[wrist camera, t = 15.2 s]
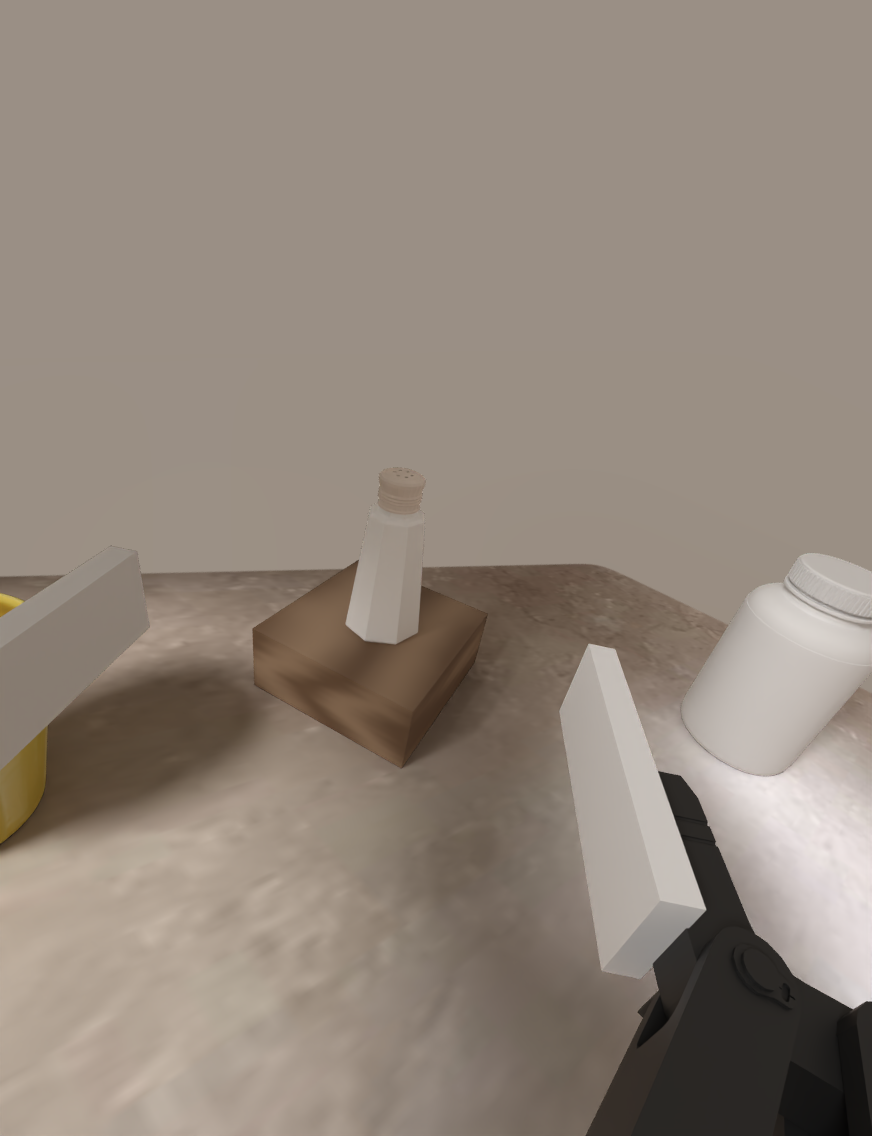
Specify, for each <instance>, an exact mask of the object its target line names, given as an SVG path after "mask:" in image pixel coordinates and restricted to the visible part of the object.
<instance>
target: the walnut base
mask: <svg viewBox="0 0 872 1136" xmlns="http://www.w3.org/2000/svg"><path fill="white" fill-rule="evenodd" d="M358 562H359V560H358V561H356V562H355V563H353V564H351V565H350V566H348V567H347V568H345V569H344V570H342V571H341V572H339V573H338V574H336V575H334V576H333V577H331V578H330V579H328V580H327V581H325V582H324V583H322V584H321V585H319V586H317V587H316V588H314V589H313V590H311V591H310V592H308V593H307V594H305V595H304V596H302V597H300V598H299V599H297V600H296V601H294V602H293V603H291V604H290V605H288V606H287V607H285V608H283V609H282V610H280V611H279V612H277V613H276V614H274V615H273V616H271V617H270V618H268V619H266V620H265V621H263V622H262V623H260V624H259V625H257V626H256V627H254V628H253V656H254V685H256V686H258V687H259V688H261V689H263V690H265V691H266V692H268V693H270V694H272V695H273V696H275V697H277V698H279V699H280V700H282V701H284V702H286V703H287V704H289V705H291V706H293V707H294V708H296V709H298V710H300V711H301V712H303V713H305V714H307V715H309V716H310V717H312V718H314V719H316V720H317V721H319V722H321V723H323V724H324V725H326V726H328V727H330V728H331V729H333V730H335V731H337V732H338V733H340V734H342V735H344V736H345V737H347V738H349V739H351V740H352V741H354V742H356V743H358V744H359V745H361V746H363V747H365V748H367V749H368V750H370V751H372V752H374V753H375V754H377V755H379V756H381V757H382V758H384V759H386V760H388V761H389V762H391V763H393V764H395V765H396V766H398V767H400V768H402V767H403V765H404V764H405V763H406V761H407V760H408V758H409V757H410V755H411V754H412V752H413V751H414V749H415V748H416V747H417V745H418V744H419V742H420V741H421V739H422V738H423V736H424V735H425V734H426V732H427V731H428V729H429V728H430V726H431V725H432V723H433V722H434V720H435V719H436V718H437V716H438V715H439V713H440V712H441V710H442V709H443V707H444V706H445V705H446V703H447V702H448V700H449V699H450V697H451V696H452V694H453V693H454V691H455V690H456V689H457V687H458V686H459V684H460V683H461V681H462V680H463V678H464V677H465V675H466V674H467V673H468V671H469V670H470V668H471V667H472V665H473V664H474V662H475V659H476V655H477V651H478V648H479V644H480V641H481V637H482V633H483V630H484V626H485V622H486V619H487V615H488V614H487V613H485V612H482V611H480V610H478V609H475V608H473V607H470V606H468V605H466V604H463V603H461V602H459V601H456V600H454V599H451V598H449V597H447V596H444V595H442V594H440V593H437V592H435V591H432V590H430V589H428V588H425V587H423V586H421V594H420V609H419V625H418V633H416V634H415V635H413V636H411V637H409V638H407V639H405V640H403V641H401V642H399V643H398V644H396V645H394V644H385V643H375V642H366V641H364V640H363V639H362V638H361V637H359V636H358V635H357V634H356V633H355V632H353V631H352V630H351V629H350V628H349V627H347V626H346V619H347V614H348V609H349V605H350V600H351V595H352V591H353V586H354V581H355V576H356V572H357V567H358Z"/></svg>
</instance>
